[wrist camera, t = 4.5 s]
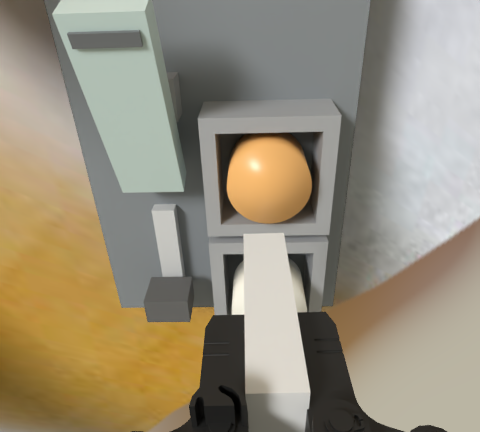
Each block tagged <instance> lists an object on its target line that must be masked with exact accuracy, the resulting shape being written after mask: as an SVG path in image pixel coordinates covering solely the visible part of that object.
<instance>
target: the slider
mask: <svg viewBox="0 0 480 432" xmlns="http://www.w3.org/2000/svg"><path fill="white" fill-rule="evenodd" d="M193 301H194V289H193V281H192V277H151V280H150V283H149V286H148V289H147V292H146V295H145V298H144V307H145V312H146V316H147V321H148V322H190V319H191V313H192V307H193Z"/></svg>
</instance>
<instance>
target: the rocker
mask: <svg viewBox="0 0 480 432" xmlns="http://www.w3.org/2000/svg"><path fill="white" fill-rule="evenodd" d="M52 16H53V18H54V21H55V23H56V26H57V28H58V31H59V33H60V36H61V38H62V41H63V43H64V46H65V48H66V51H67V53H68V56H69V58H70V61H71V63H72V66H73V68H74V71H75V73H76V76H77V78H78V81H79V84H80V86H81V89H82V91H83V94H84V96H85V99H86V101H87V104H88V106H89V109H90V111H91V114H92V116H93V119H94V121H95V124H96V126H97V129H98V131H99V134H100V136H101V139H102V141H103V144H104V146H105V149H106V151H107V154H108V157H109V159H110V162H111V164H112V167H113V169H114V172H115V174H116V177H117V179H118V182H119V184H120V187H121V189H122V192H123V193H139V192H184V188H185V180H186V168H185V163H184V158H183V153H182V148H181V143H180V138H179V133H178V128H177V123H176V118H175V113H174V108H173V103H172V98H171V93H170V88H169V83H168V78H167V73H166V68H165V63H164V57H163V52H162V47H161V42H160V37H159V32H158V27H157V22H156V17H155V12H154V7H153V2H152V0H61V1H60V2H59V4H58V5H57V7H56V9H55V10H54V12H53V13H52Z"/></svg>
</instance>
